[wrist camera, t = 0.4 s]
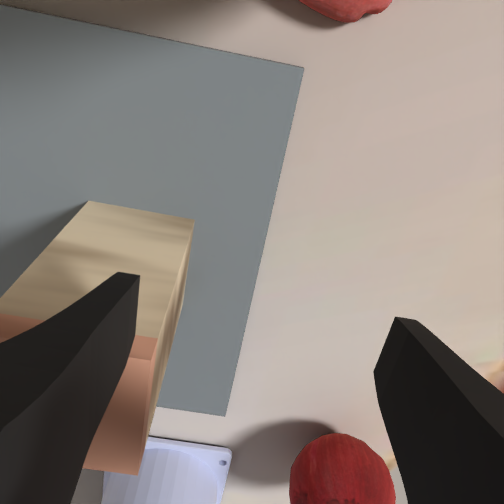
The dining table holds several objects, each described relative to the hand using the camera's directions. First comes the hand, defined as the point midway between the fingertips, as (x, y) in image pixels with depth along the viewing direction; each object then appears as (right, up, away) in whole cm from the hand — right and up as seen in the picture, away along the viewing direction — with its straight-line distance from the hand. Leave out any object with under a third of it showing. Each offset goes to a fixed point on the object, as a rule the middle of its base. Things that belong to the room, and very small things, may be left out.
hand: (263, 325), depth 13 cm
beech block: (-6, +2, +10) cm, 12 cm away
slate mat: (-10, +3, +10) cm, 14 cm away
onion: (+5, -10, +17) cm, 20 cm away
